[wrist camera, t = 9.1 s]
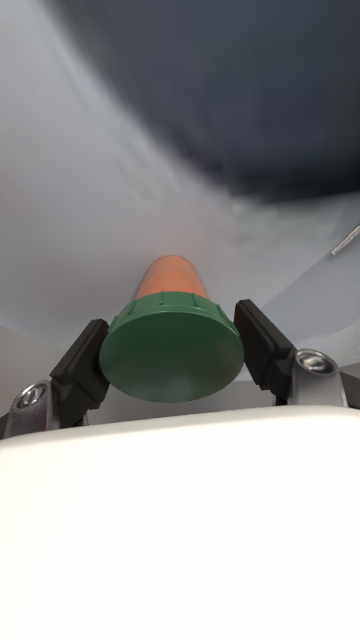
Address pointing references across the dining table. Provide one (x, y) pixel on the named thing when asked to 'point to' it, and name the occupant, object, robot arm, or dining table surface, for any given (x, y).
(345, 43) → the dining table surface
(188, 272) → the jar
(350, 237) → the key chain
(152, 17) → the dining table surface
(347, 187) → the dining table surface
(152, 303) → the lid
